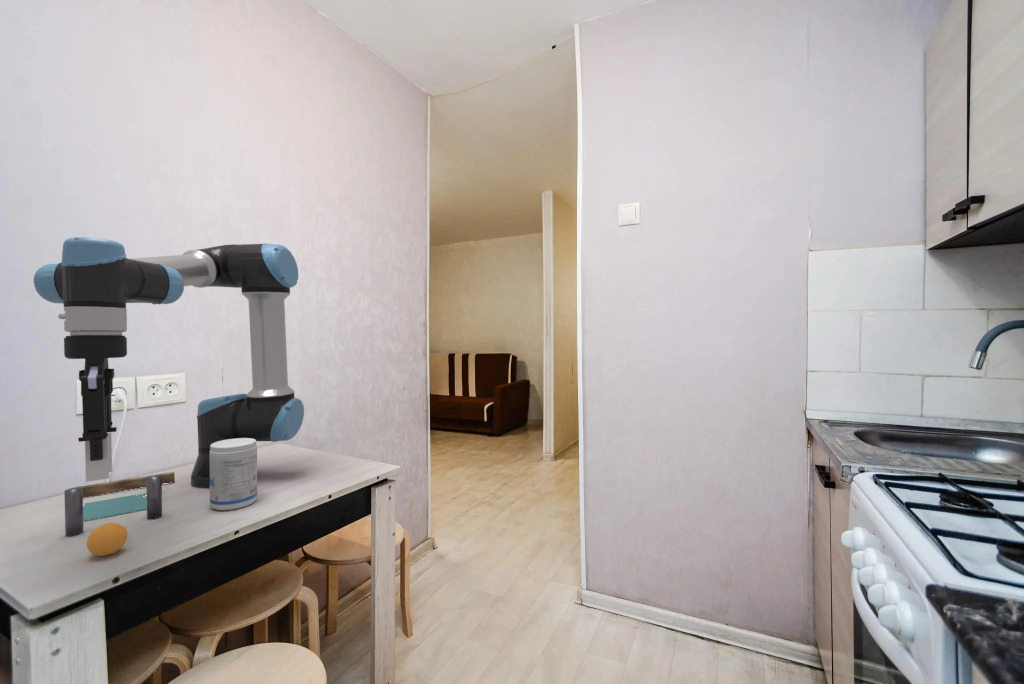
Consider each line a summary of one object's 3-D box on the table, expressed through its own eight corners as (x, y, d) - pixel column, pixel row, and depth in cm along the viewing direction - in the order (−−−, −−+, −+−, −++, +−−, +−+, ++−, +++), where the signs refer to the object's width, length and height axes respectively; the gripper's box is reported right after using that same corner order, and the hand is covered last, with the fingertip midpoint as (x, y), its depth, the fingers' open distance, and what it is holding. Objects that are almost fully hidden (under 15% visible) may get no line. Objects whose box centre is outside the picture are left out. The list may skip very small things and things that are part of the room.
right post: (162, 514, 99) (161, 474, 99) (162, 517, 97) (161, 476, 97) (147, 517, 97) (146, 476, 97) (146, 520, 95) (145, 479, 95)
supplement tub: (206, 503, 105) (205, 441, 105) (252, 493, 111) (251, 435, 111) (214, 515, 98) (213, 449, 98) (262, 504, 104) (261, 442, 104)
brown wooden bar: (174, 480, 122) (174, 471, 122) (174, 482, 121) (174, 473, 121) (73, 497, 110) (73, 487, 110) (72, 499, 108) (71, 489, 108)
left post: (84, 529, 91) (83, 486, 91) (82, 534, 89) (81, 489, 89) (66, 533, 89) (65, 488, 89) (64, 537, 87) (63, 492, 87)
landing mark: (160, 491, 114) (160, 490, 114) (159, 507, 103) (159, 506, 103) (85, 504, 105) (85, 503, 105) (75, 523, 94) (75, 522, 94)
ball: (129, 544, 84) (128, 515, 84) (126, 555, 80) (126, 524, 80) (89, 553, 81) (88, 523, 81) (84, 565, 77) (84, 533, 77)
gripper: (73, 334, 77) (76, 468, 77) (53, 333, 64) (56, 495, 64) (130, 334, 81) (132, 461, 82) (122, 333, 68) (125, 484, 68)
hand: (99, 475), depth 73 cm, fingers open, 4 cm apart
